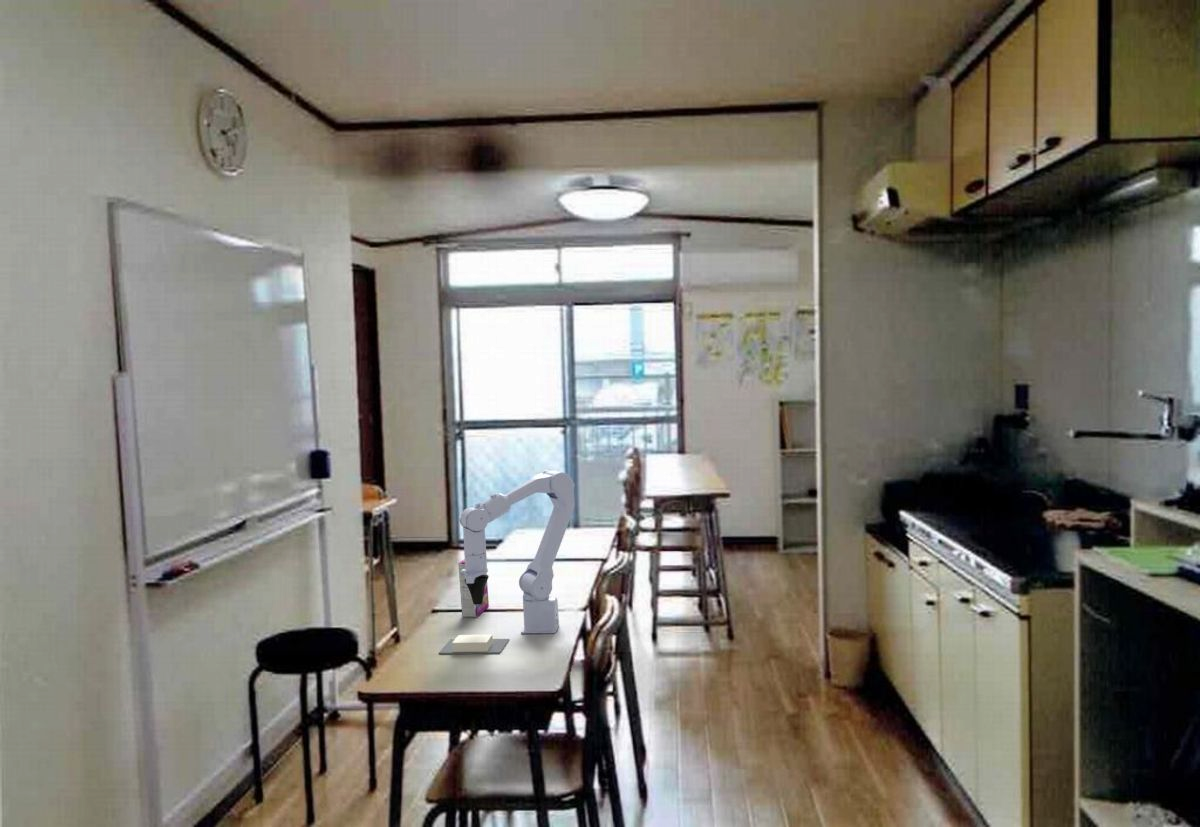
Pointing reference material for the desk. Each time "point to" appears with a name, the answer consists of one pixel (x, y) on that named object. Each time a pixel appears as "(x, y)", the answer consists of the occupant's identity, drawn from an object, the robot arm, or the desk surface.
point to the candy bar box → (466, 598)
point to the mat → (494, 649)
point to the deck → (472, 643)
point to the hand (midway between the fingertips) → (477, 603)
